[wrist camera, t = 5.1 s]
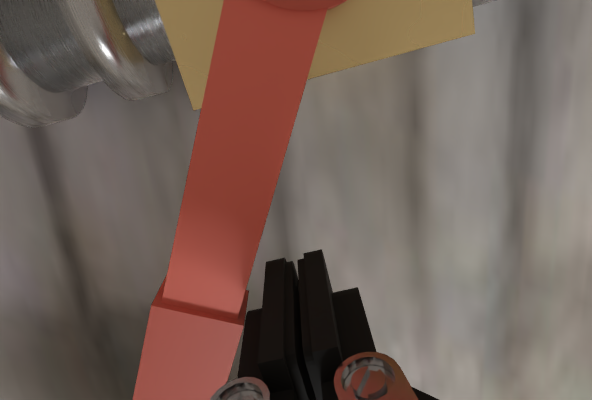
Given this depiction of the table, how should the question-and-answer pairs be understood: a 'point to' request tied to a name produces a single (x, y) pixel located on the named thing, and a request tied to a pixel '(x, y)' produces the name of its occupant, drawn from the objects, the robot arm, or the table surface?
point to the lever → (228, 193)
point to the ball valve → (179, 46)
